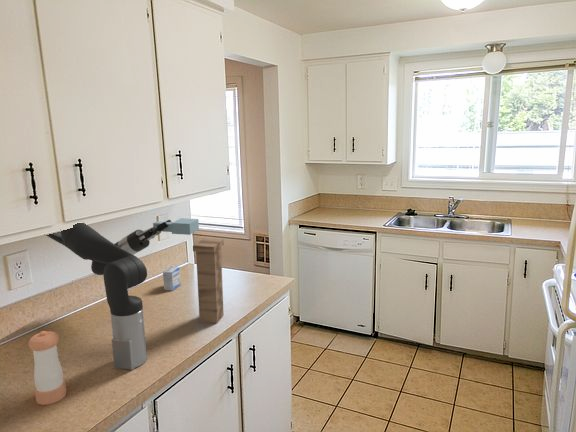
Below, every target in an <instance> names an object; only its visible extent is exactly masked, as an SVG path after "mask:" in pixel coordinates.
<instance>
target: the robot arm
mask: <svg viewBox="0 0 576 432" xmlns="http://www.w3.org/2000/svg"><path fill="white" fill-rule="evenodd" d="M162 222H163V223H161V224H160V225H158V226H155V227H154V228H153V226H152V227H149V228H147V229H144V230H142V229H136V230H134V231H132V232H130V233H129V234H127V235H126V236H123V238H121V239H120V240H118V241H117V242H115V243H113V242H111V241H110V240H109V239H107V238H106V237H104V235H101V233H99V232H98V231H96V230H95V229H94V228H92V227H91V226H89V225H88V224H87V225H86V223H85V222H83V223H77V224H75V225H73V228H70V229H67V230H63V231H61V232H57V233H53V234H49V235H45V236H47V237H48V238H50V239H51V240H53V241H55V242H57V243H59V244H60V245H62V246H64V247H65V248H67V249H68V250H70V251H71V252H72V253H73V254H75V255H77V256H78V257H79V258H81V259H82V260H84V261H85V260H86V261H88V260H89V261H91V264H90V265H91V266H90V269H91V272H93V274H94V275H97V276H103V283H104V289H105V295H106V301H107V305H108V307H109V310H110V311H109V312H110V321H111V331H112V339H111V347H112V348H111V349H112V357H113V358H112V359H113V368H115V369H123V370H131V371H132V370H134V369H135V368H138V367H141V366H142V365H144V364H145V363H146V361H147V360H148V356H147V355H148V354H147V345H146V343H147V341H146V331H145V320H144V317H145V316H144V306H143V300H142V298H141V297H139V296H136V295H129V292H128V291H129V289H131V288H134V287H137V286H138V285H140V284H142V283H144V282H145V281H146V280H147V277H148V270H147V267H146V265H145V264H144V262H143V261H142V260H141V259H140V258H139V257H138V256H135V254H138V253H139V252H142V251H143V250H145V249H146V248H148V247H149V246H150V244H151V243H150V241H151V240H153V239H155V238H156V237H157V236H158V235H160V234H161V233H162V230H163V229H165V228H167V227H168V225H167V223H166V222H172V220H171V219H168V220H166V221H162Z"/></svg>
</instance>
